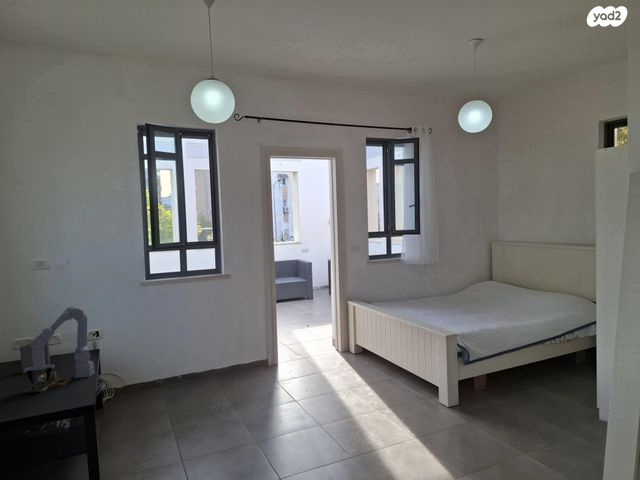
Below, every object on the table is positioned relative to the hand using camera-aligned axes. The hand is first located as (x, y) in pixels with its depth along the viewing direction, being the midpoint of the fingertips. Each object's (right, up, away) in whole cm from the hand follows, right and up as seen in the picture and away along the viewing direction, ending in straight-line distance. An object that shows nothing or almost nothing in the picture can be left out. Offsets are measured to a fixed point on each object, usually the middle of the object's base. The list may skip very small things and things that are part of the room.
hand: (40, 382), depth 249 cm
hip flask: (-26, -4, +36) cm, 44 cm away
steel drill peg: (0, -3, 0) cm, 3 cm away
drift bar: (0, -2, 0) cm, 2 cm away
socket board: (0, -4, 0) cm, 4 cm away
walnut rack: (+9, -3, +5) cm, 11 cm away
